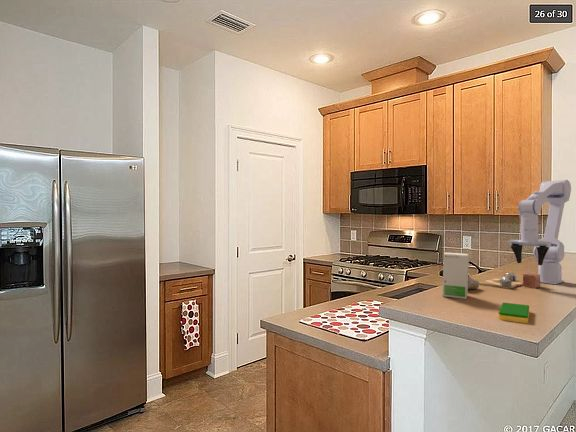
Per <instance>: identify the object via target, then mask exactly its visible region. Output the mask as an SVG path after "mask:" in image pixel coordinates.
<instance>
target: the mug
mask: <svg viewBox="0 0 576 432" xmlns="http://www.w3.org/2000/svg"><path fill="white" fill-rule="evenodd" d="M479 282H480V281H479V280H478V279H475V278H472V277H471V276H470V275H468V290H477V289H479V287H480V284H479Z"/></svg>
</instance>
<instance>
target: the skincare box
mask: <svg viewBox="0 0 576 432" xmlns="http://www.w3.org/2000/svg"><path fill="white" fill-rule="evenodd" d="M469 258H470V257H469V253H461V252H448V251H447V252H444V253H443V263H442V264H443V269H442V297H445V298H448V297H449V298H454V299H464V300H467V298H468V290H469V289H468V276H469Z"/></svg>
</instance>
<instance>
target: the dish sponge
mask: <svg viewBox="0 0 576 432" xmlns="http://www.w3.org/2000/svg"><path fill="white" fill-rule="evenodd" d="M529 317H530V305H528V304H519V303H511V302H510V303H509V302H502V304H501V306H500V309H499V311H498V320H501V321H509V322H517V323H524V324H528V323H529Z"/></svg>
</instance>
